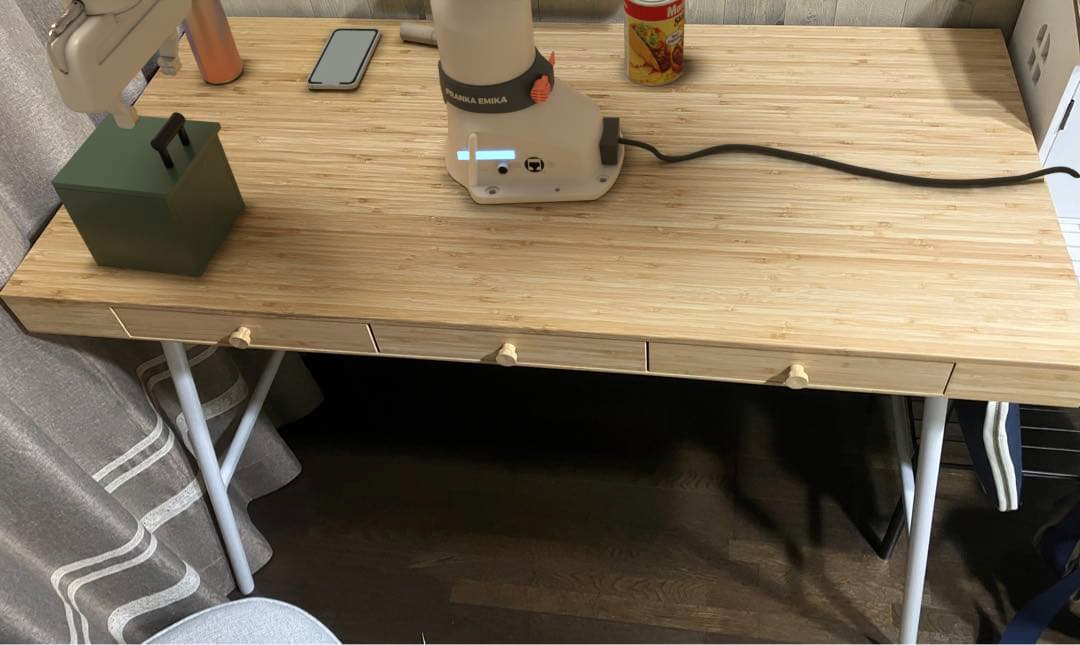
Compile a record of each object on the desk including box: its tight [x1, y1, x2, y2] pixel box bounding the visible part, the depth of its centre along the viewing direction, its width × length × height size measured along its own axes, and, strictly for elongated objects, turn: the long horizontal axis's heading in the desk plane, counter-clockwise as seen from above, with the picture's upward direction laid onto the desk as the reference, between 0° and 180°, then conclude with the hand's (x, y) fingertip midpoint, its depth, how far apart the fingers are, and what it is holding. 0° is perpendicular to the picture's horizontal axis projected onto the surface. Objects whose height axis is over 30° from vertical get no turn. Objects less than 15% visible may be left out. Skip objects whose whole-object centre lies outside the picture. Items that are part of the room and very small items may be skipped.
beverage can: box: [180, 0, 244, 85], centre depth 140 cm, size 6×6×15 cm
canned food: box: [622, 0, 686, 87], centre depth 133 cm, size 8×8×12 cm
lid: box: [50, 111, 222, 199], centre depth 111 cm, size 14×13×5 cm
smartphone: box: [306, 27, 382, 90], centre depth 144 cm, size 7×1×15 cm
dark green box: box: [53, 133, 246, 278], centre depth 118 cm, size 14×13×12 cm
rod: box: [399, 20, 438, 46], centre depth 145 cm, size 12×3×3 cm, turn 67°
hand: (152, 97), depth 106 cm, fingers open, 8 cm apart
